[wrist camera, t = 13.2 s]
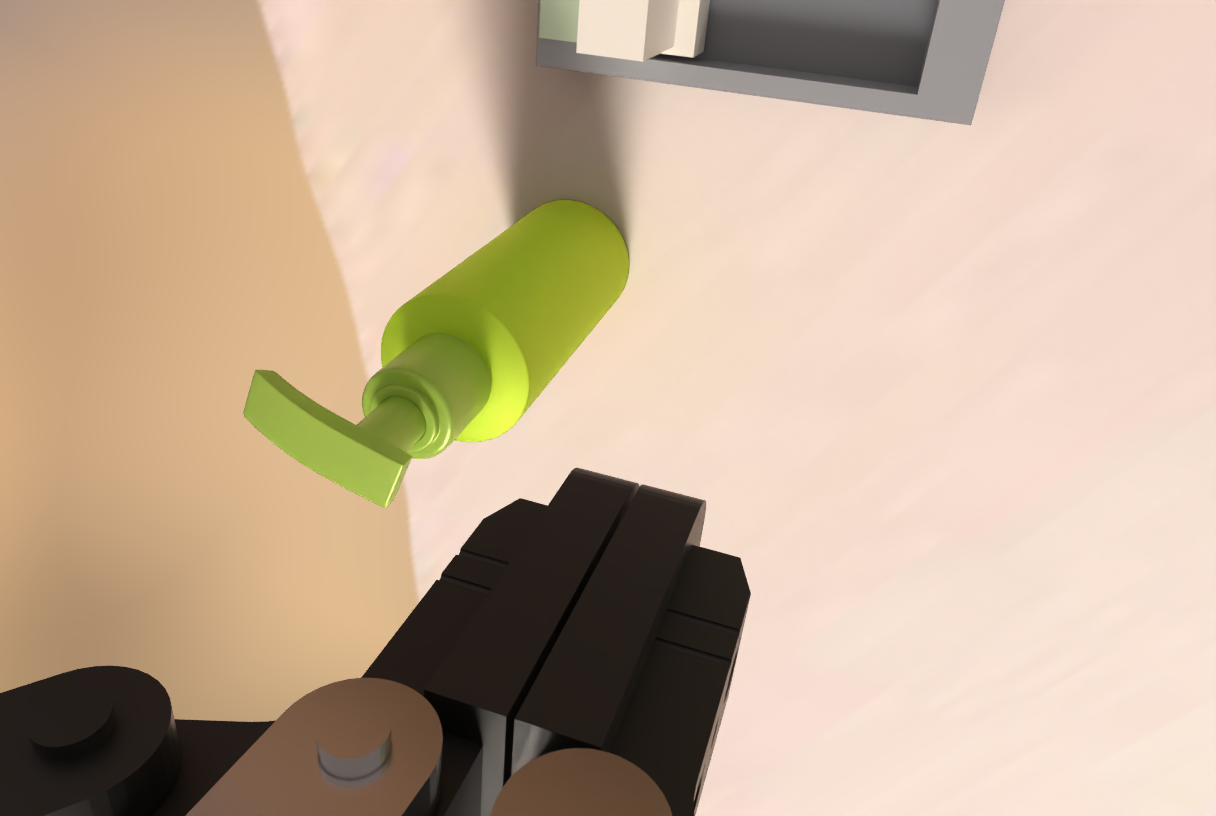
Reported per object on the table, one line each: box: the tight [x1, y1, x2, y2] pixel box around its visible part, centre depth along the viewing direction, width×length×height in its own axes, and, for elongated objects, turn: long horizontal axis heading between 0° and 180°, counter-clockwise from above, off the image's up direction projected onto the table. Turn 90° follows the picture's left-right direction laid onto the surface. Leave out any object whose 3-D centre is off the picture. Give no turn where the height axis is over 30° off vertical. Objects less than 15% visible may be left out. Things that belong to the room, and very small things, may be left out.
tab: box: [576, 0, 710, 62], centre depth 33 cm, size 4×3×7 cm
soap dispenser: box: [244, 200, 629, 508], centre depth 35 cm, size 6×7×20 cm
